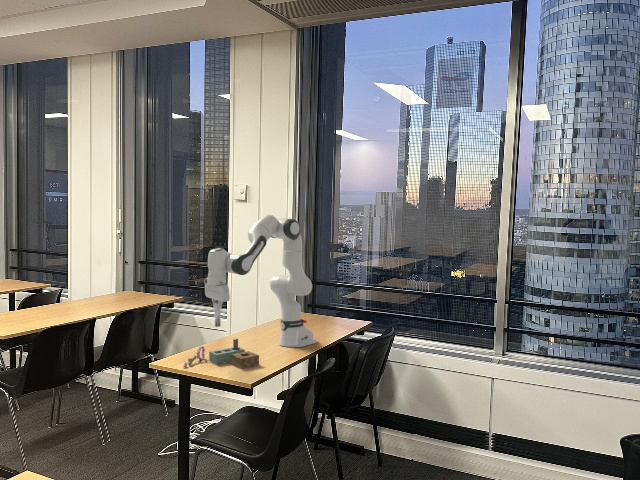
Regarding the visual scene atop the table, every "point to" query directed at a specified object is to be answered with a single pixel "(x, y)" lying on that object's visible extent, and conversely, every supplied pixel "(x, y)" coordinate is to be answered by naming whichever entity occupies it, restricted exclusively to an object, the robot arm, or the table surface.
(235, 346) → the dark grey peg
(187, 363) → the decorative key
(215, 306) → the metal cylinder rod
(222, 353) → the drill rack
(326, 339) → the table surface
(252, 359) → the socket block
